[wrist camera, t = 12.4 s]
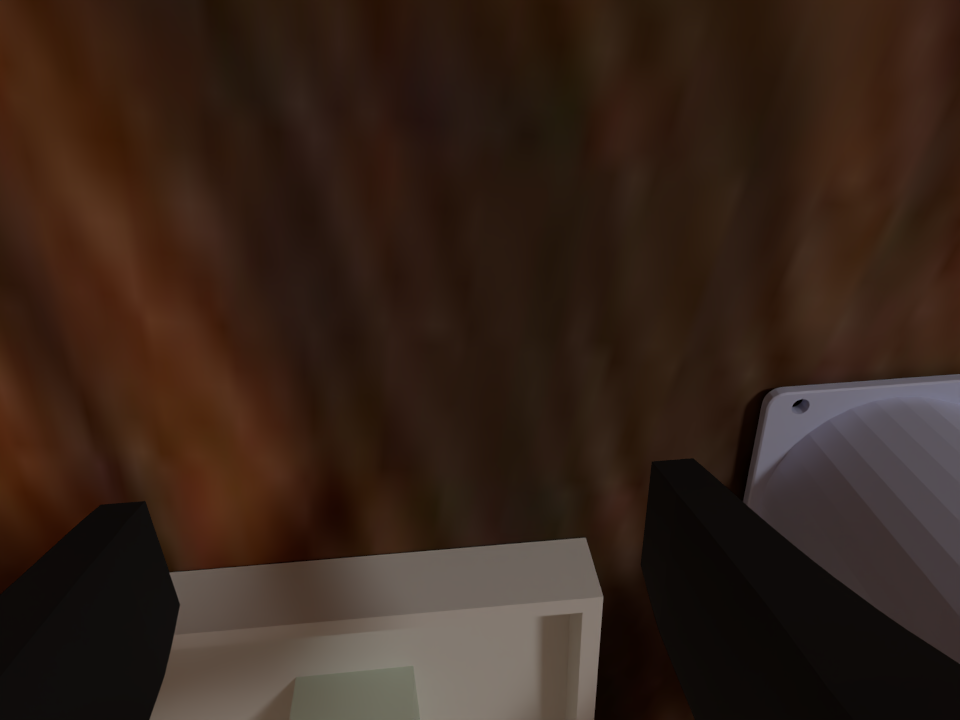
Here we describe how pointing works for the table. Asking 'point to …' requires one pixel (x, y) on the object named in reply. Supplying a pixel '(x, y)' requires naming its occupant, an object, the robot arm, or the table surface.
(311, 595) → the serving tray
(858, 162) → the table surface
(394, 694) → the sage block
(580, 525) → the table surface
